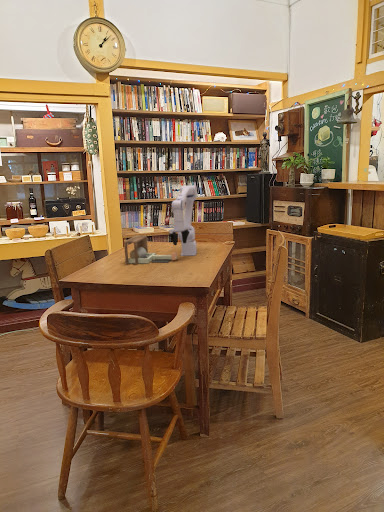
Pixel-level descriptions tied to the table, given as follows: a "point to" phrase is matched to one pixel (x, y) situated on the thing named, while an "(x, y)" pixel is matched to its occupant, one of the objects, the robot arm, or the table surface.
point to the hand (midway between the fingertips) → (179, 244)
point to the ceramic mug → (139, 253)
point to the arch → (136, 246)
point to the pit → (161, 260)
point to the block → (153, 256)
